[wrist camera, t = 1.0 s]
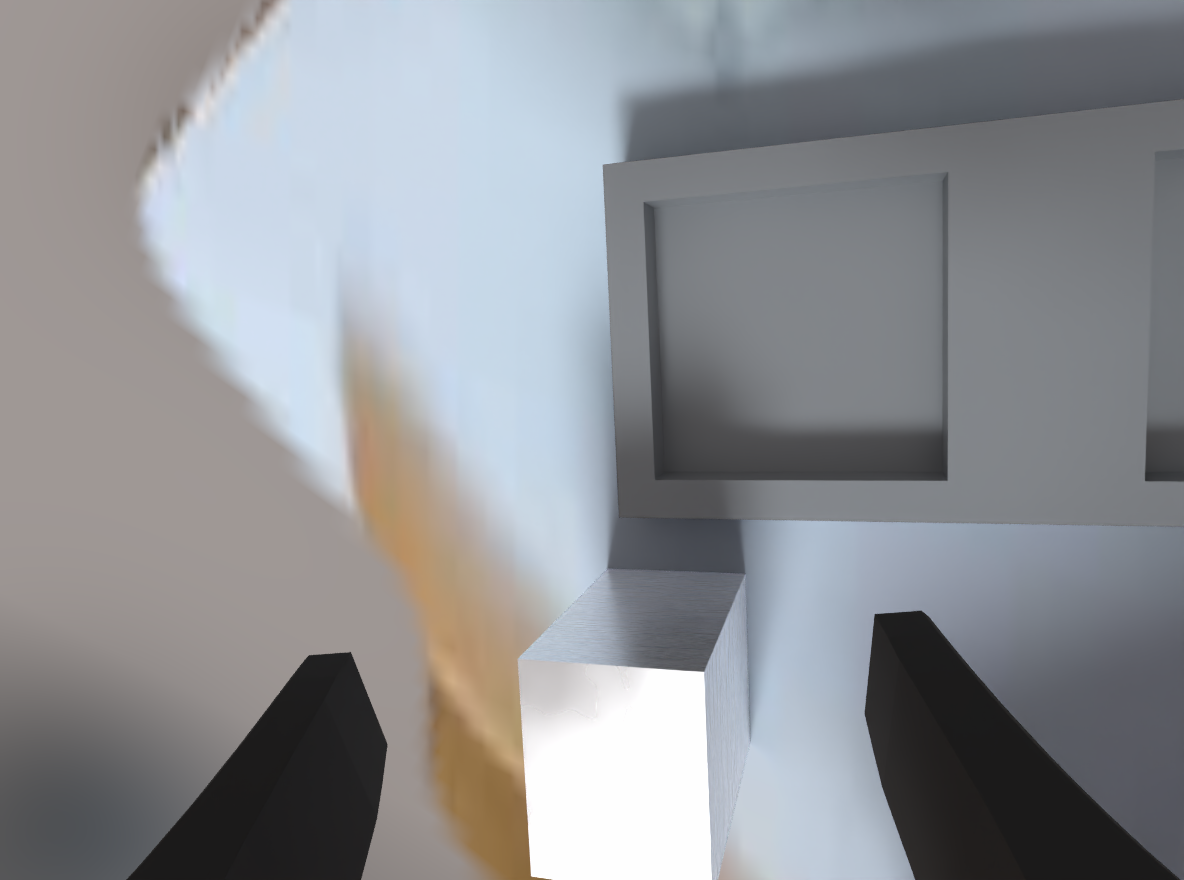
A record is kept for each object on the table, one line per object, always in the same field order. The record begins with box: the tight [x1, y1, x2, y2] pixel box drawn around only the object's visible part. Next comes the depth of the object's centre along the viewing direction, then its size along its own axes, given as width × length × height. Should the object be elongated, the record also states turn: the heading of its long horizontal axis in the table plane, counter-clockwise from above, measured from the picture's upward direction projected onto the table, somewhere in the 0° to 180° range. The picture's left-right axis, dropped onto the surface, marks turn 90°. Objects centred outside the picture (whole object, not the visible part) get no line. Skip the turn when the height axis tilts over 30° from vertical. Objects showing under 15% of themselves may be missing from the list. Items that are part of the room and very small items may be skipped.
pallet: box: [603, 99, 1184, 527], centre depth 19 cm, size 9×20×2 cm, turn 93°
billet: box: [518, 569, 750, 880], centre depth 21 cm, size 5×4×7 cm
